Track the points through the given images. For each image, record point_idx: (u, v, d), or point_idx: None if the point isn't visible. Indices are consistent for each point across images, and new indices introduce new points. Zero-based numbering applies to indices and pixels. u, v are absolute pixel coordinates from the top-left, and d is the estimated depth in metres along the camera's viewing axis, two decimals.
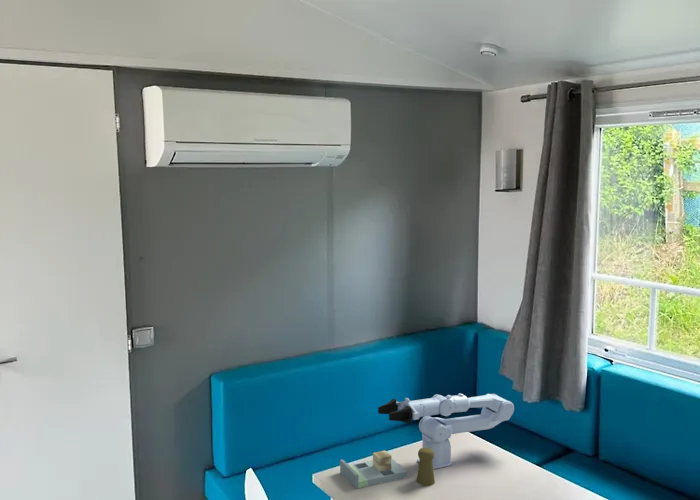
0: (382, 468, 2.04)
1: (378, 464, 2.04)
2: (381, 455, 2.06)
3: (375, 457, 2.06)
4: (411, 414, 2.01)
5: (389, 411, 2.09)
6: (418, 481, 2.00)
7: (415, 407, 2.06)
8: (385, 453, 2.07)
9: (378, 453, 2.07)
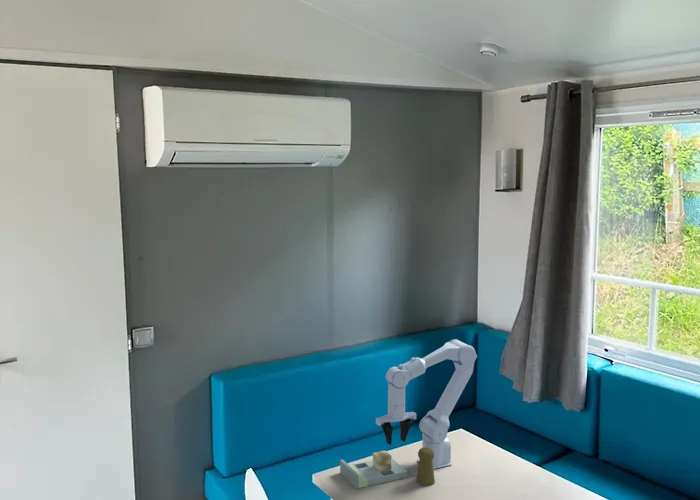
0: (382, 468, 2.04)
1: (378, 464, 2.04)
2: (381, 455, 2.06)
3: (375, 457, 2.06)
4: (382, 424, 2.06)
5: (404, 430, 2.08)
6: (418, 481, 2.00)
7: (388, 411, 2.07)
8: (385, 453, 2.07)
9: (378, 453, 2.07)
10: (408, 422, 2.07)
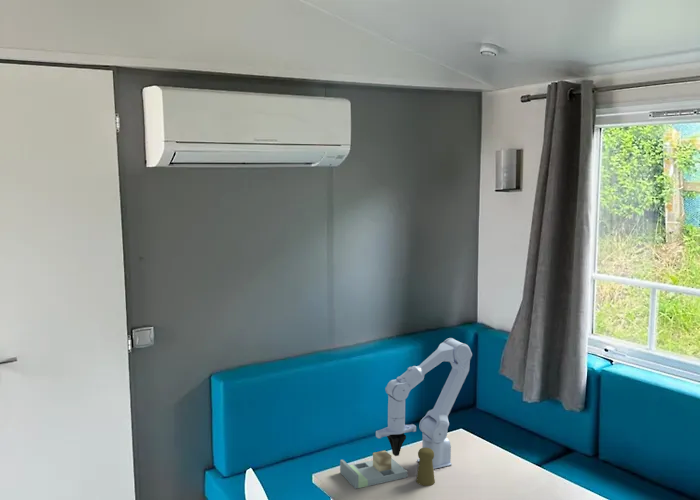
0: (382, 468, 2.04)
1: (378, 464, 2.04)
2: (381, 455, 2.06)
3: (375, 457, 2.06)
4: None
5: None
6: (418, 481, 2.00)
7: None
8: (385, 453, 2.07)
9: (378, 453, 2.07)
10: (402, 436, 2.07)
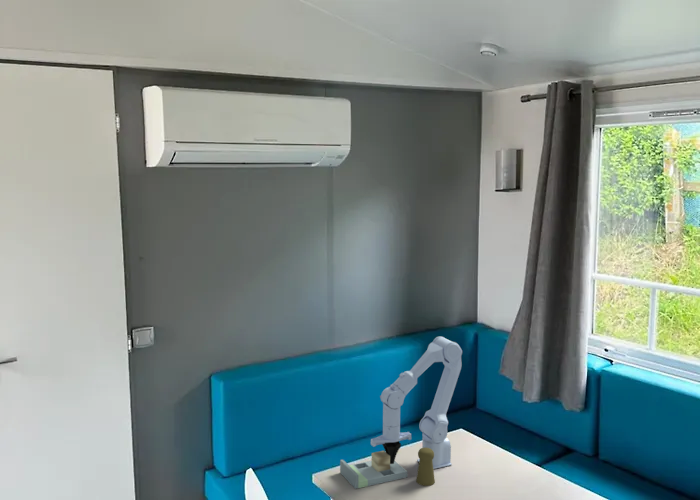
0: (380, 468, 2.04)
1: (377, 464, 2.04)
2: (380, 455, 2.05)
3: (374, 457, 2.06)
4: None
5: None
6: (418, 481, 2.00)
7: None
8: (384, 453, 2.07)
9: (377, 453, 2.07)
10: (396, 444, 2.06)
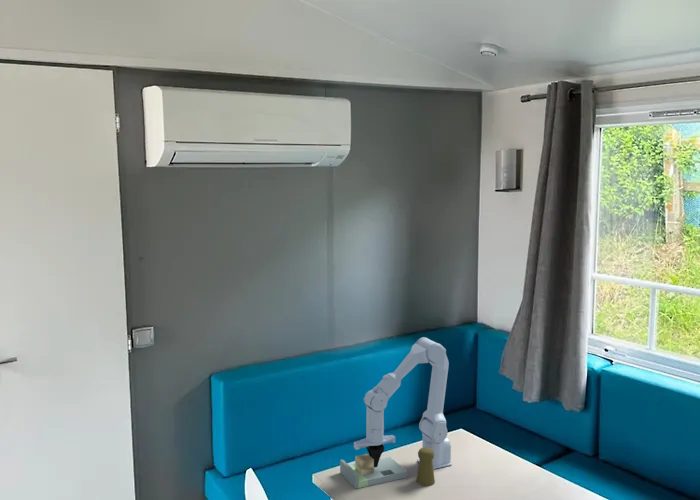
0: (364, 472, 2.01)
1: (360, 468, 2.01)
2: (363, 458, 2.03)
3: (357, 461, 2.03)
4: (367, 446, 2.04)
5: None
6: (418, 481, 2.00)
7: (366, 435, 2.05)
8: (367, 457, 2.04)
9: (360, 457, 2.04)
10: (380, 447, 2.03)
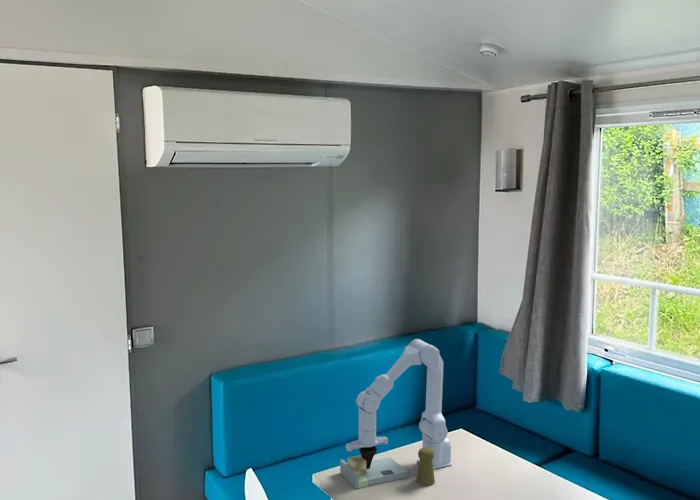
0: None
1: None
2: (356, 460, 2.02)
3: (350, 462, 2.02)
4: None
5: None
6: (418, 481, 2.00)
7: None
8: (360, 458, 2.03)
9: (353, 458, 2.03)
10: (372, 449, 2.02)
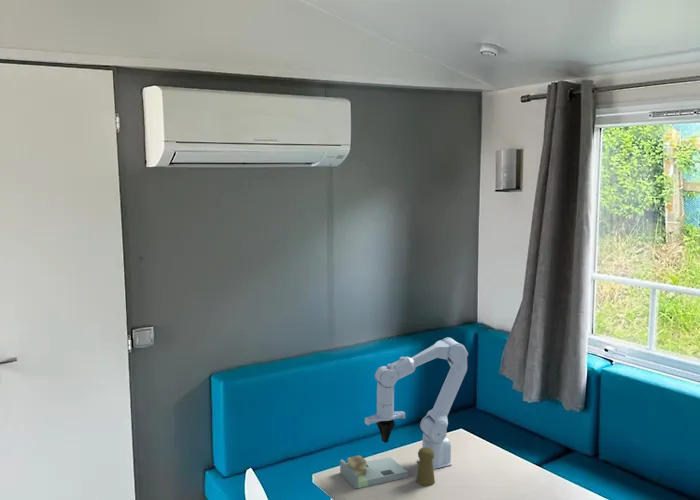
0: None
1: None
2: (356, 460, 2.02)
3: (350, 462, 2.02)
4: (377, 422, 2.08)
5: None
6: (418, 481, 2.00)
7: None
8: (360, 458, 2.03)
9: (353, 458, 2.03)
10: (391, 422, 2.07)
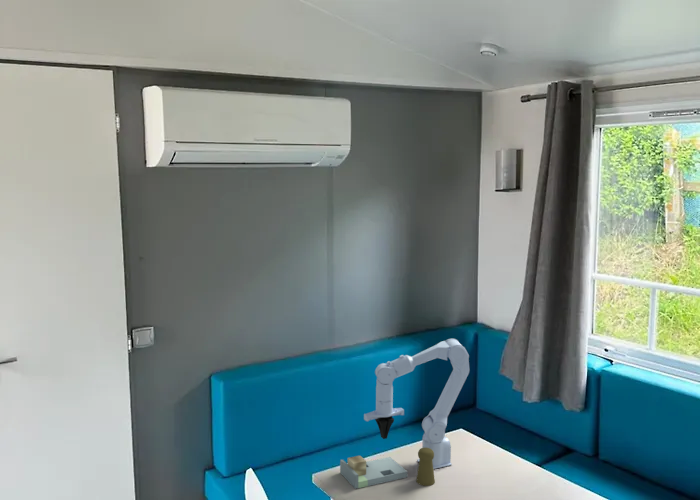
0: None
1: None
2: (356, 460, 2.02)
3: (350, 462, 2.02)
4: None
5: None
6: (418, 481, 2.00)
7: (376, 407, 2.11)
8: (360, 458, 2.03)
9: (353, 458, 2.03)
10: (389, 419, 2.10)
